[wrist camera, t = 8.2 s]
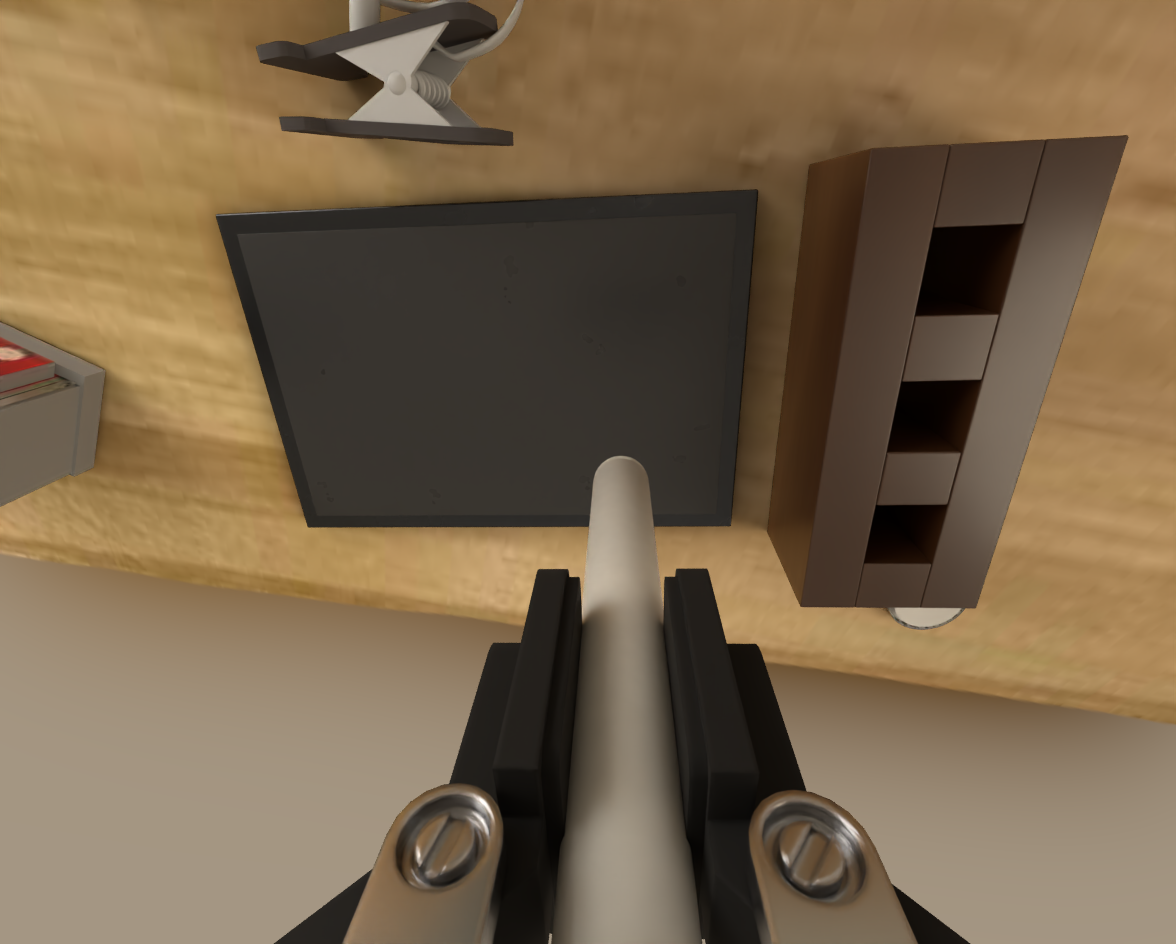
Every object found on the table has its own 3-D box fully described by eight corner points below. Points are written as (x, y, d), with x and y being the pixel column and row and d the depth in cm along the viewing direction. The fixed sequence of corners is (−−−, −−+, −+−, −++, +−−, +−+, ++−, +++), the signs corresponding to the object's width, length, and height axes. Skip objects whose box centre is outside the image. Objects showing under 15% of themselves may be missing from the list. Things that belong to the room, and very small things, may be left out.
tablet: (754, 189, 22) (759, 189, 21) (728, 518, 28) (731, 528, 27) (227, 214, 23) (212, 214, 23) (315, 520, 30) (306, 529, 29)
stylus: (647, 446, 16) (753, 1265, 4) (647, 494, 17) (734, 1325, 4) (593, 447, 16) (510, 1248, 4) (595, 495, 17) (530, 1310, 4)
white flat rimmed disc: (954, 622, 30) (960, 630, 29) (878, 622, 30) (882, 629, 30) (973, 561, 28) (980, 568, 28) (892, 561, 28) (897, 568, 28)
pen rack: (998, 155, 21) (1130, 135, 15) (908, 532, 28) (976, 608, 22) (808, 164, 21) (871, 147, 16) (766, 532, 28) (800, 607, 23)
